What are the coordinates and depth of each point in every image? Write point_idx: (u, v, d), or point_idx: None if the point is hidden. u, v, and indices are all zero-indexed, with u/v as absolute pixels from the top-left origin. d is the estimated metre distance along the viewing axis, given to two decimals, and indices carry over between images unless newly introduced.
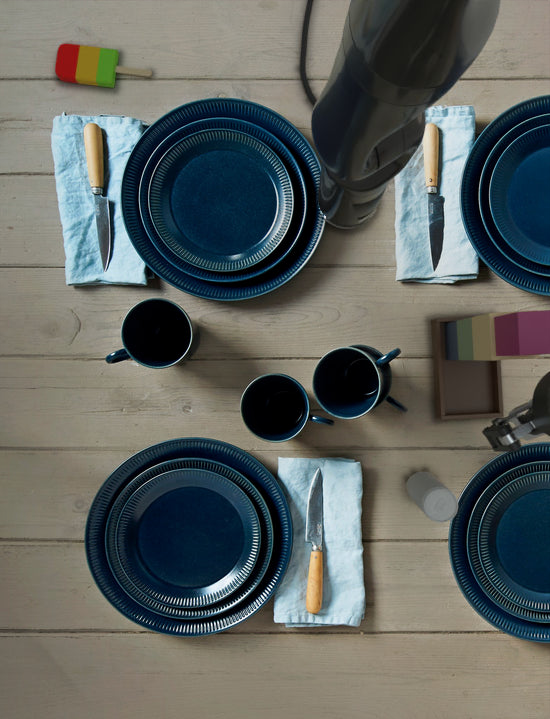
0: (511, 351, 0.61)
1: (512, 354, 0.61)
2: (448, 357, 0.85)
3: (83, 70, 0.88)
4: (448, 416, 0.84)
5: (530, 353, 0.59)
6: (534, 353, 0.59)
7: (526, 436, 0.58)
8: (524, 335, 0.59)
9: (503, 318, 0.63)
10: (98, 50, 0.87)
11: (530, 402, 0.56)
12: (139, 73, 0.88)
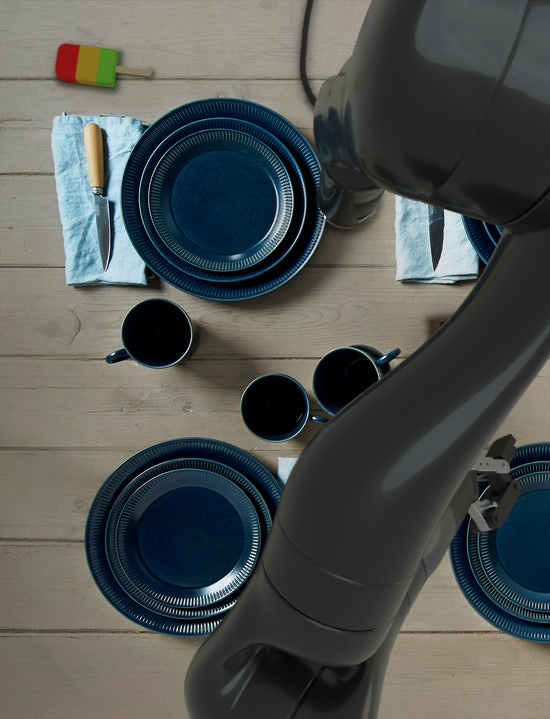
0: None
1: None
2: None
3: (83, 70, 0.88)
4: None
5: None
6: None
7: None
8: None
9: None
10: (98, 50, 0.87)
11: None
12: (139, 73, 0.88)
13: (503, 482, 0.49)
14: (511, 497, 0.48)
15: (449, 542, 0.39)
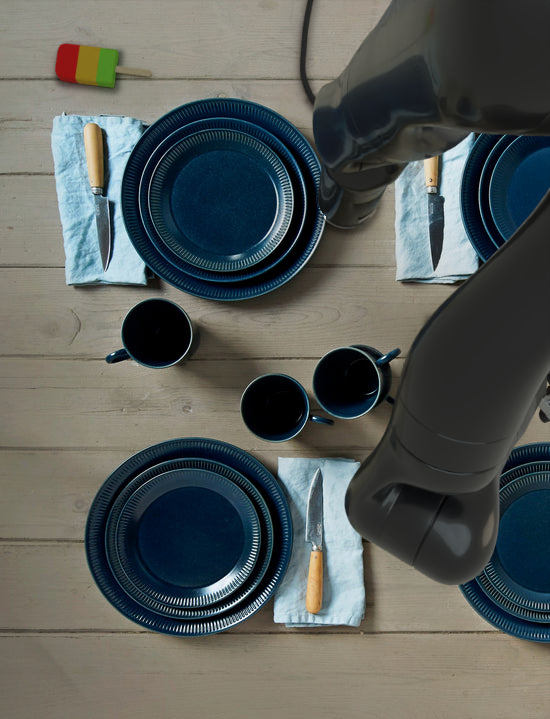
0: None
1: None
2: None
3: (83, 70, 0.88)
4: None
5: None
6: None
7: None
8: None
9: None
10: (98, 50, 0.87)
11: None
12: (139, 73, 0.88)
13: None
14: None
15: (532, 416, 0.49)
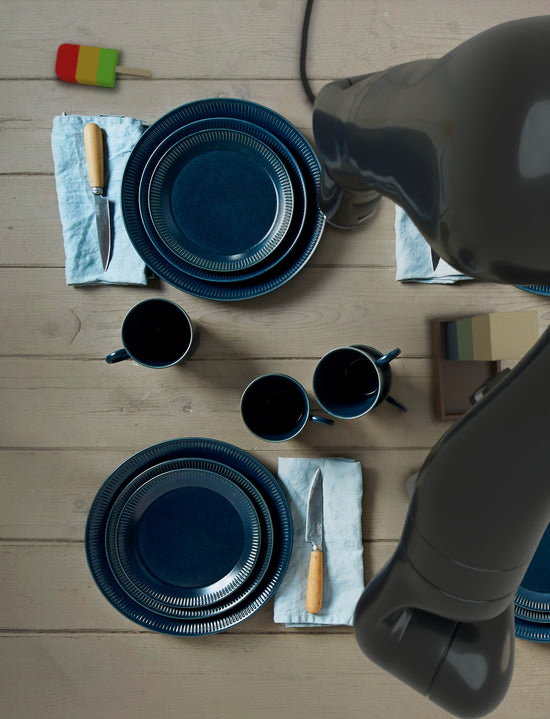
0: None
1: None
2: (448, 357, 0.85)
3: (83, 70, 0.88)
4: (448, 416, 0.84)
5: None
6: None
7: None
8: None
9: None
10: (98, 50, 0.87)
11: None
12: (139, 73, 0.88)
13: None
14: None
15: None
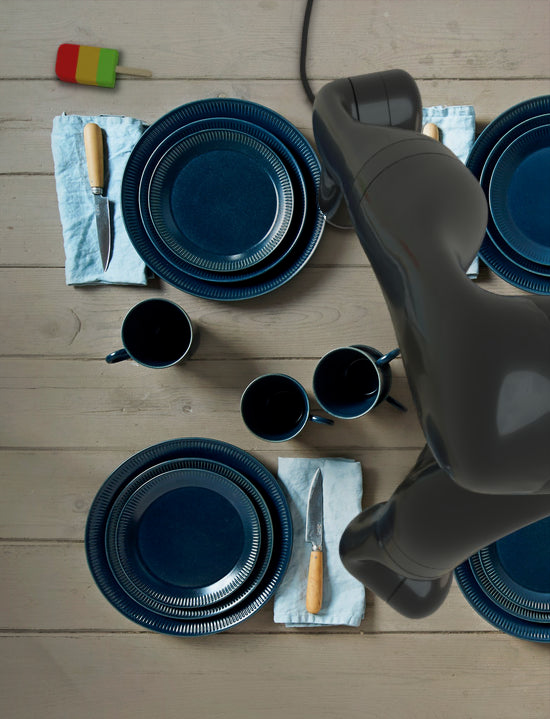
0: None
1: None
2: None
3: (83, 70, 0.88)
4: None
5: None
6: None
7: None
8: None
9: None
10: (98, 50, 0.87)
11: None
12: (139, 73, 0.88)
13: None
14: None
15: None
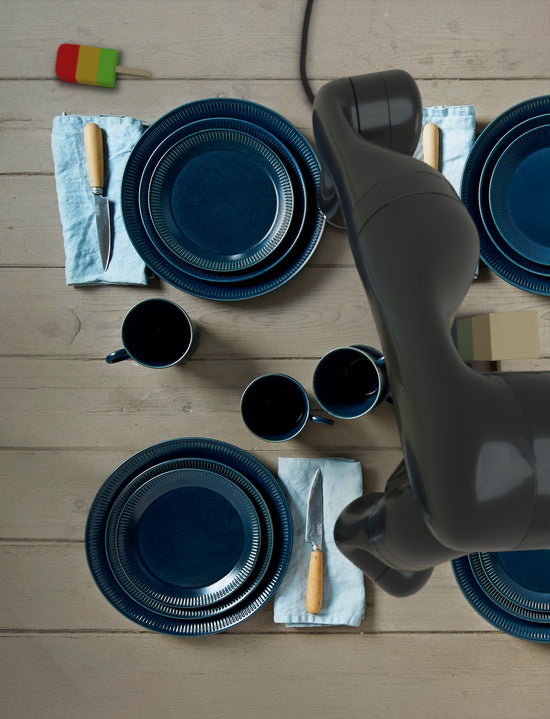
0: None
1: None
2: None
3: (83, 70, 0.88)
4: None
5: None
6: None
7: None
8: None
9: None
10: (98, 50, 0.87)
11: None
12: (139, 73, 0.88)
13: None
14: None
15: None
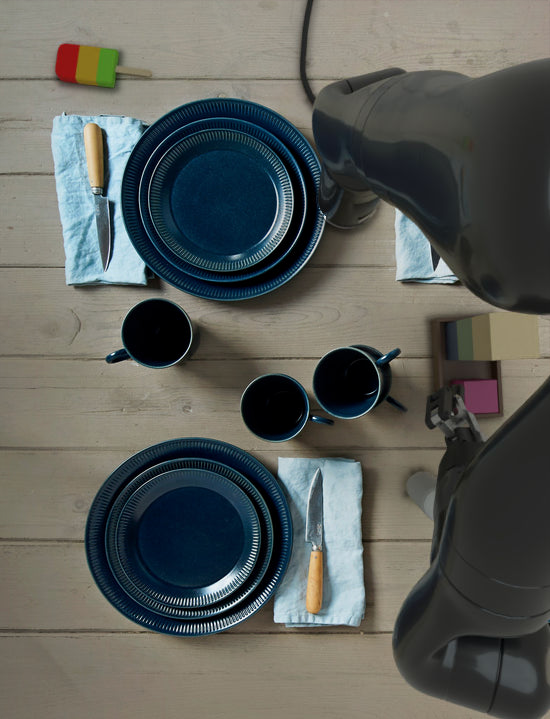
0: None
1: None
2: (448, 357, 0.85)
3: (83, 70, 0.88)
4: None
5: (473, 412, 0.80)
6: (476, 412, 0.79)
7: None
8: (469, 399, 0.80)
9: (455, 382, 0.84)
10: (98, 50, 0.87)
11: (477, 432, 0.58)
12: (139, 73, 0.88)
13: None
14: None
15: None
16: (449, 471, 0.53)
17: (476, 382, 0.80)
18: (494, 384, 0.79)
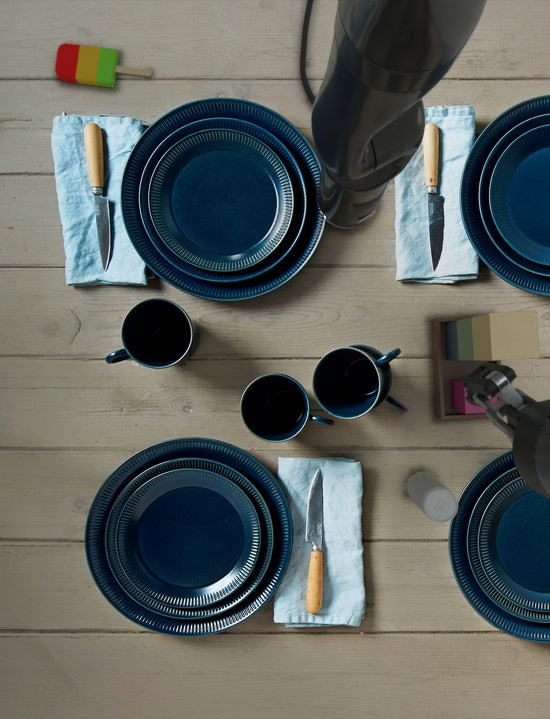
0: (460, 408, 0.82)
1: (461, 411, 0.81)
2: (448, 357, 0.85)
3: (83, 70, 0.88)
4: (448, 416, 0.84)
5: (473, 412, 0.80)
6: (476, 412, 0.79)
7: (491, 411, 0.47)
8: None
9: (455, 382, 0.84)
10: (98, 50, 0.87)
11: None
12: (139, 73, 0.88)
13: None
14: None
15: None
16: None
17: None
18: None
